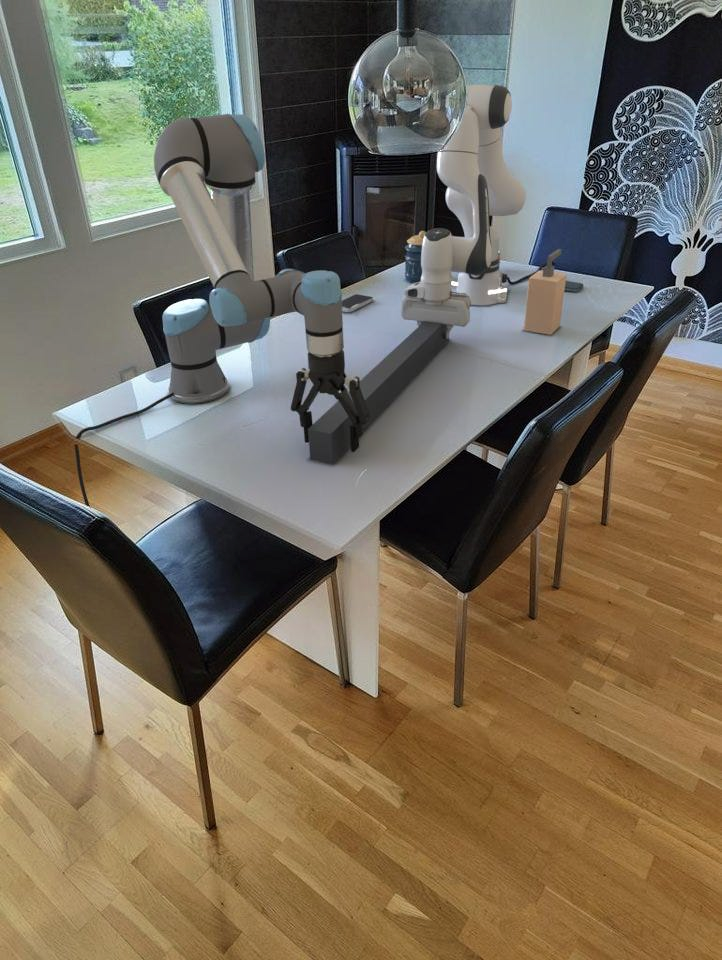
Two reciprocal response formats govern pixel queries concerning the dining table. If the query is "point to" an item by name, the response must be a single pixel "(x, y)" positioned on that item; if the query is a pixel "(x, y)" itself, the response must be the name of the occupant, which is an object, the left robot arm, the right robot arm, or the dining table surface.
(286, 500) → the dining table surface
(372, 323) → the dining table surface
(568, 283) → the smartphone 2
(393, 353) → the beam
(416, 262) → the canister
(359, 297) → the smartphone
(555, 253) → the soap dispenser
